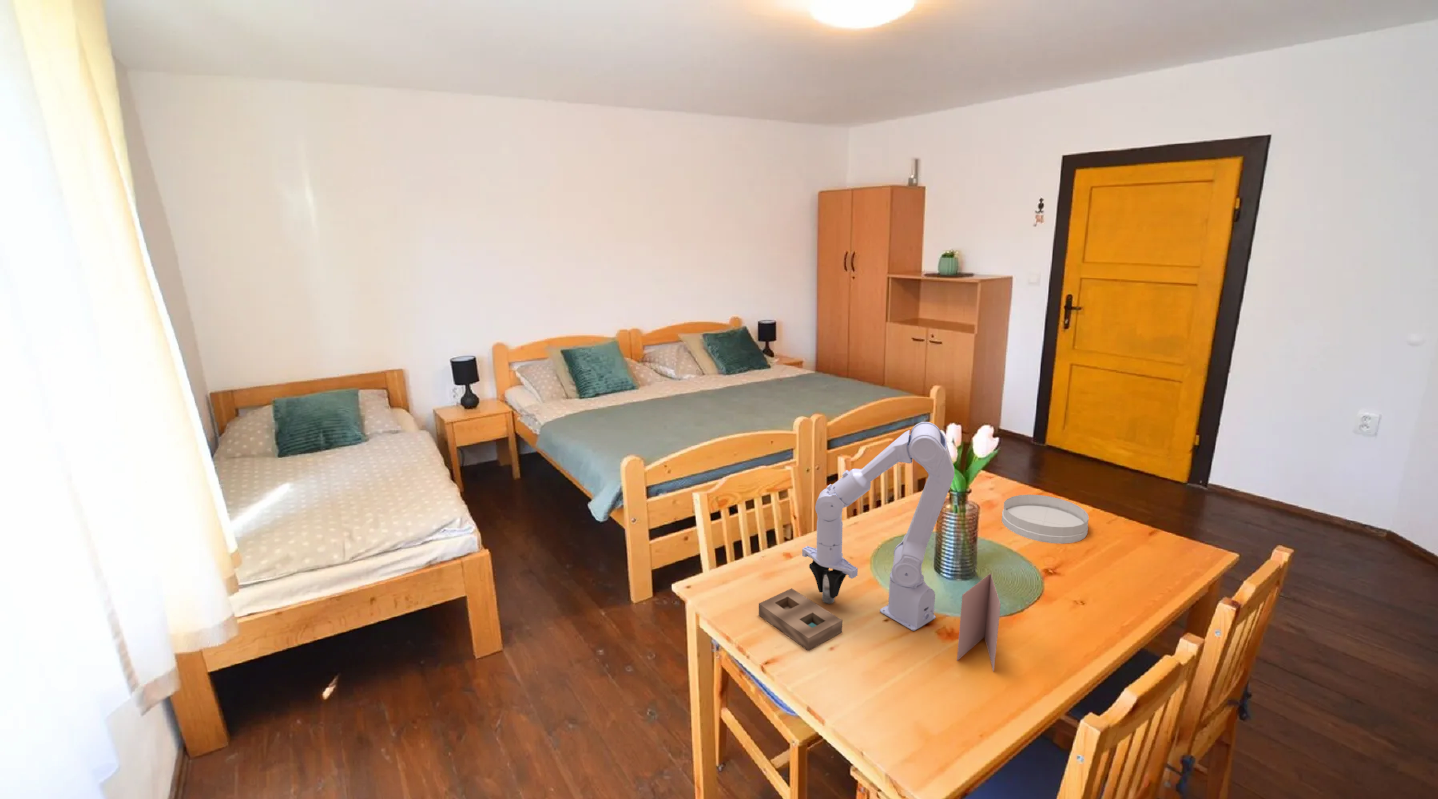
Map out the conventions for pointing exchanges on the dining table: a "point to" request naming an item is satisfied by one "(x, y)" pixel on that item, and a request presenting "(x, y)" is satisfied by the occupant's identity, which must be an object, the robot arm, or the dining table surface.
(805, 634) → the hole block
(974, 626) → the greeting card
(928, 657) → the dining table surface
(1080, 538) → the dish
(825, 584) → the pin
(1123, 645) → the dining table surface
